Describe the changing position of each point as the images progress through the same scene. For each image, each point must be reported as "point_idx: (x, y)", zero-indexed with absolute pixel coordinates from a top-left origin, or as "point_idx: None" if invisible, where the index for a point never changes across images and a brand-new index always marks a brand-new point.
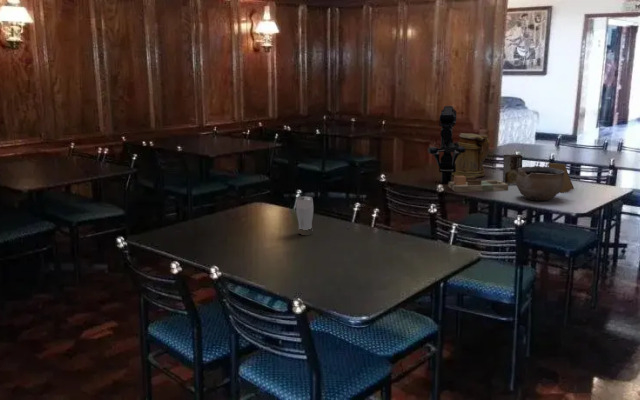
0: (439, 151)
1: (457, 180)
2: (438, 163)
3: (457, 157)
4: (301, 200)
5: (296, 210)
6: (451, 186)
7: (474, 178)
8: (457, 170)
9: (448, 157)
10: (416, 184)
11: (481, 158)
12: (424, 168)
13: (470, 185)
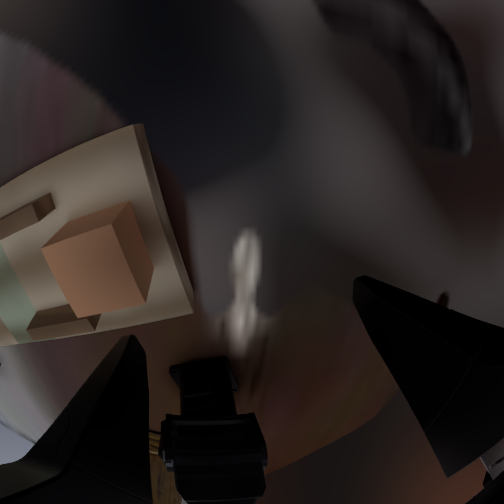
0: (500, 486)
1: (113, 215)
2: (397, 290)
3: (175, 501)
4: None
5: None
6: (171, 240)
7: (33, 324)
8: None
9: (211, 494)
10: (355, 323)
11: None
12: (266, 472)
13: (37, 196)
